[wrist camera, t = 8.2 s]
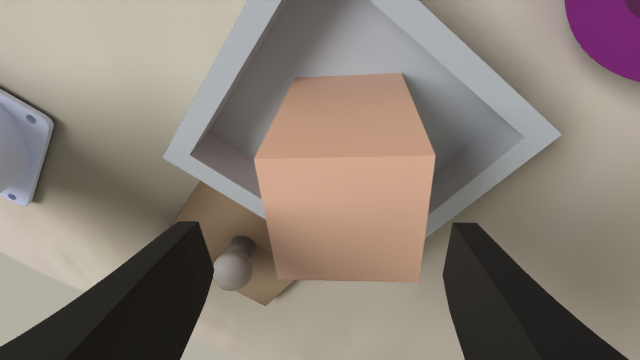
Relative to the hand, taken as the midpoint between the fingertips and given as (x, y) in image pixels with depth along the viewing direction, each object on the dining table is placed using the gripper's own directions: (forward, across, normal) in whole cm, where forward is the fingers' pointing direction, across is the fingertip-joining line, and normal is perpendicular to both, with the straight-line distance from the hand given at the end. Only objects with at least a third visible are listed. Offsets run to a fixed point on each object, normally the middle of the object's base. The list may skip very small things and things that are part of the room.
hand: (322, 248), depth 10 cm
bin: (+10, -1, 0) cm, 10 cm away
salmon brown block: (+9, -1, 0) cm, 9 cm away
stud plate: (+10, +6, +8) cm, 15 cm away
